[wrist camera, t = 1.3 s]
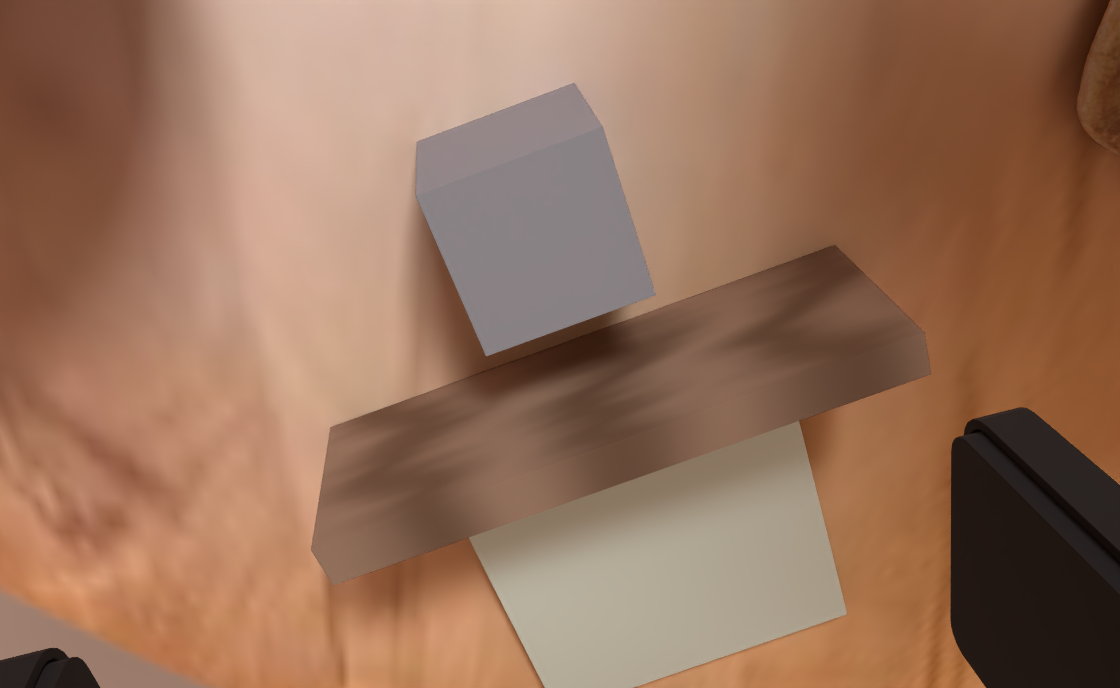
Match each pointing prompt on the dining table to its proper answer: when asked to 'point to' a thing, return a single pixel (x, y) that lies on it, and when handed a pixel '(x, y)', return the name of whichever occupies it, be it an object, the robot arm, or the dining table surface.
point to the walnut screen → (609, 410)
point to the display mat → (669, 567)
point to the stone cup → (1103, 83)
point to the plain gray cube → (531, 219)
